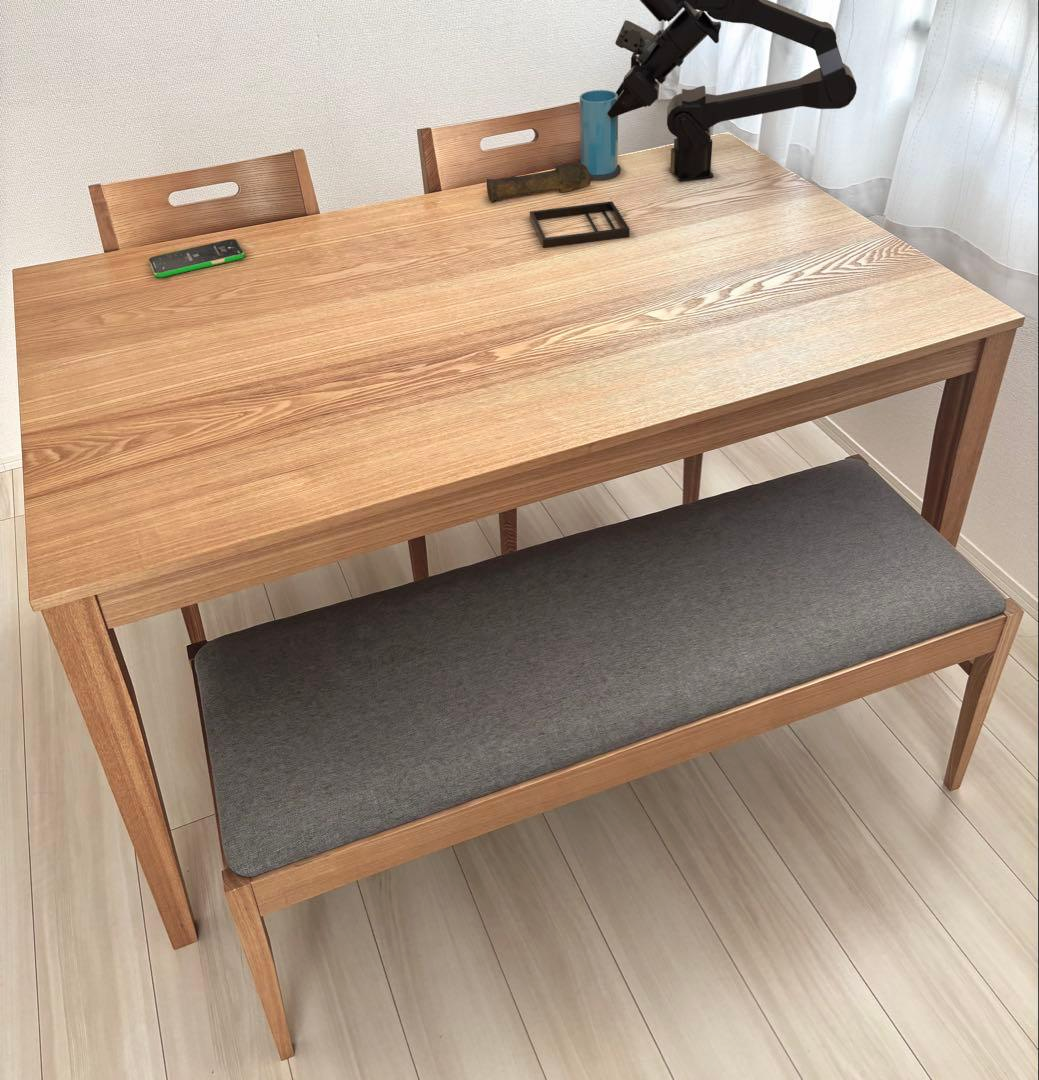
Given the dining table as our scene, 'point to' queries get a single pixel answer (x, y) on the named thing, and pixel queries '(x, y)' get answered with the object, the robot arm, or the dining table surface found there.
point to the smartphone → (196, 258)
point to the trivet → (607, 176)
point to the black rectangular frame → (581, 237)
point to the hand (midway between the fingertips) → (612, 107)
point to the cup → (598, 132)
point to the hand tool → (540, 182)
